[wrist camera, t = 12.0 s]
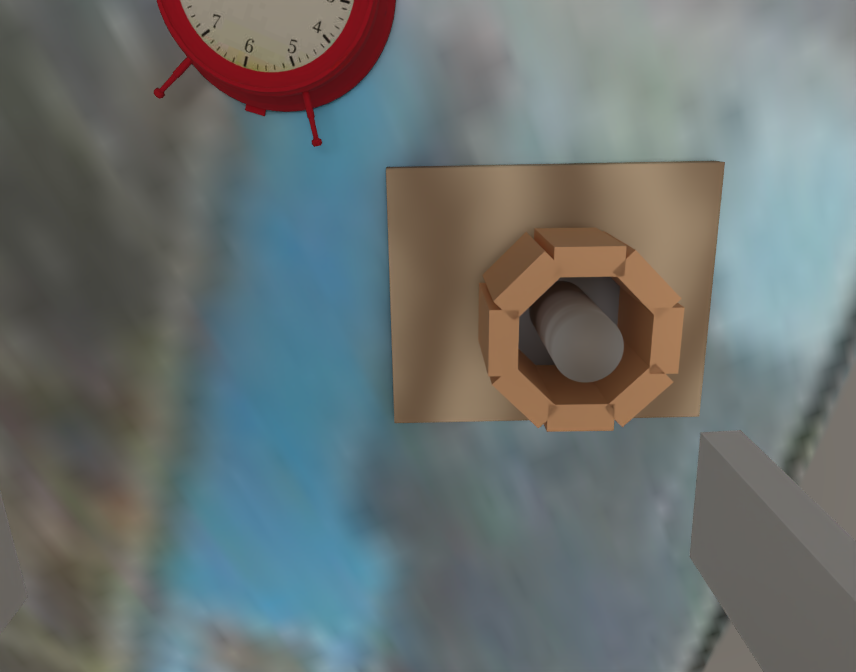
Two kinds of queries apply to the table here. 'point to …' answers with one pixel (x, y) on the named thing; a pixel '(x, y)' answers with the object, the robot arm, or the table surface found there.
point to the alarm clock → (279, 48)
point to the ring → (637, 321)
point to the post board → (491, 223)
